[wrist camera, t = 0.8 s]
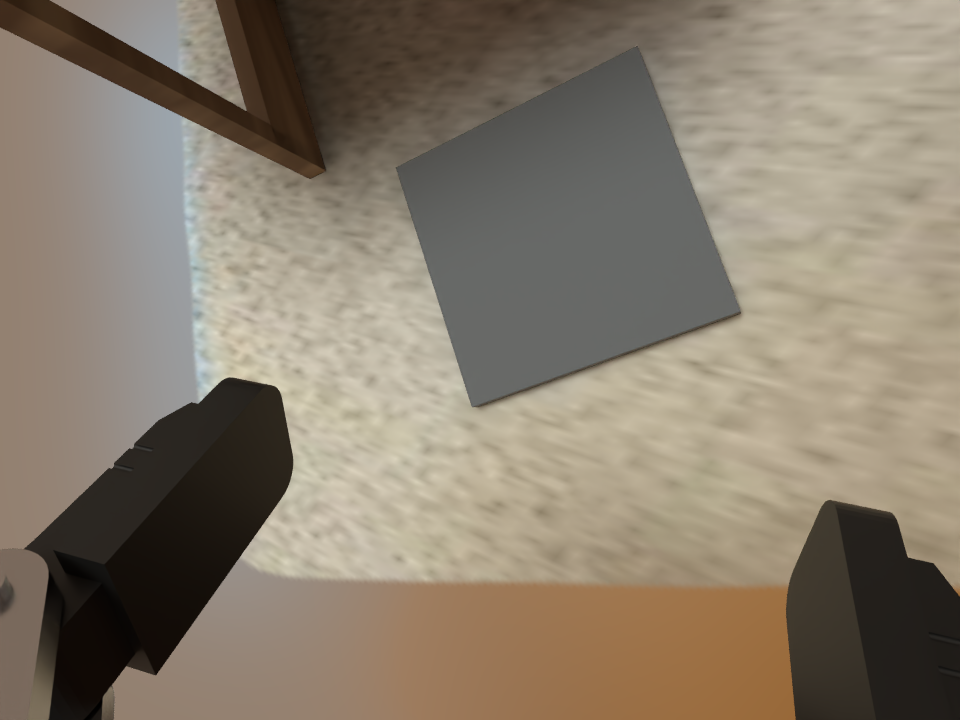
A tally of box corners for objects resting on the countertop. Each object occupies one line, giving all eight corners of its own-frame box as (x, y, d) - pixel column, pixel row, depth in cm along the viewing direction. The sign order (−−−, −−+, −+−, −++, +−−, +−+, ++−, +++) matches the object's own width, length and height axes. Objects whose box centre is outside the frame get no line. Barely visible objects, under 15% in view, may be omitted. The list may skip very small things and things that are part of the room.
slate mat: (640, 54, 30) (637, 45, 29) (740, 313, 28) (740, 311, 27) (403, 172, 33) (396, 167, 33) (478, 406, 32) (472, 407, 31)
